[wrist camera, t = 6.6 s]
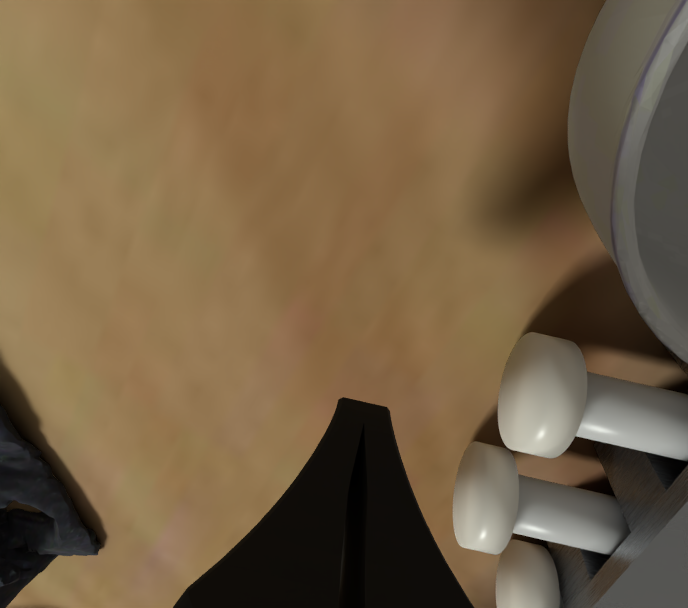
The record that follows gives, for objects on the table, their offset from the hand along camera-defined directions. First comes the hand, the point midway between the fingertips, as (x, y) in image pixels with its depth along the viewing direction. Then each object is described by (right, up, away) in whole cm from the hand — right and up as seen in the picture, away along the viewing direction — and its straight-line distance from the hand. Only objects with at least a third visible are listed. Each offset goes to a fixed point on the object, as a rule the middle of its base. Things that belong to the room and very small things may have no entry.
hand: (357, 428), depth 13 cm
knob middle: (+9, -4, +8) cm, 12 cm away
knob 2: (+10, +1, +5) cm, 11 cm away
